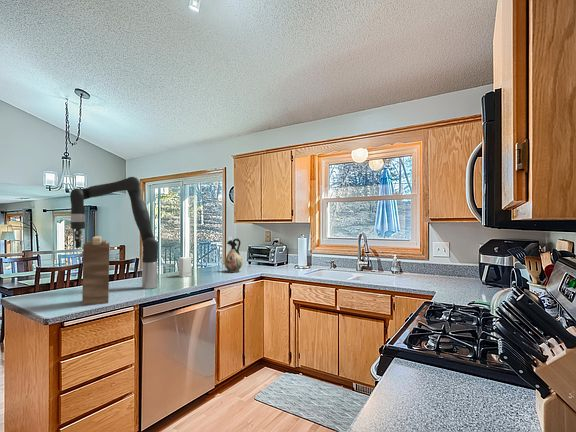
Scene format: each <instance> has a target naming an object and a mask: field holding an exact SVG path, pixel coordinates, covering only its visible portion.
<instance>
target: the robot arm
mask: <svg viewBox="0 0 576 432" xmlns="http://www.w3.org/2000/svg"><path fill="white" fill-rule="evenodd" d="M122 191H127V194H128V196H129V199H130V205H131V210H132V214H133V218H134V221H135V224H136V226H137V228H138V230H139V234H140V237H141V244H142V259H141V260H142V262H141V263H142V264H141V270H142V273H141V274H142V275H141V276H142V277H141V289H146V290H147V289H150V290H151V289H157V288H158V279H159V278H158V255H159V252H158V251H159V244H158V241H157V240H156V239H155V236H154V233H153V230H152V224H151V218H150V213H149V209H148V208H147V205H146V203H145V201H144V199H143V196H142V191H141V181H140V179H139V178H137V177H136V176H129V177H126V178H124V179H121V180H118V181H113V182H109V183H107V182H106V183H102V184H95V185H93V186H92V185H91V186H89V187H84V188H73V189H72V190H71V191H70V195H69V196H70V205H71V206H70V229H71V230H75V231H74V232H73V236H74V237H73V238H74V243H75V244H74V245H75V247H74V248H75V249H80V248H81V247H82V246H81V244H82V238H83V237H82V236H83V231H82V230H85V228H86V216H85V205H84V201H85V200H87V199H92V198H96V197H102V196H106V195H110V194H113V193H116V192H122Z"/></svg>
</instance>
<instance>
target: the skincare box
mask: <svg viewBox="0 0 576 432" xmlns="http://www.w3.org/2000/svg"><path fill="white" fill-rule="evenodd" d="M178 277H180V278H187V277H192V256H191V257H190V256H183V257H178Z"/></svg>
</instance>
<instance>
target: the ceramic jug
mask: <svg viewBox="0 0 576 432" xmlns="http://www.w3.org/2000/svg"><path fill="white" fill-rule="evenodd" d="M236 242H237V243H238V244H237V243H236ZM226 244H227V245H229V246H231V248H230V250H229V252H228V253H227V255H226V256H225V259H224V266H225V268H226V270H227V271H228V273H239V272H240V270H241V268H242V266H243V258H242V257H241V254H240V251H239V250H240V247H241V239H239V238H233V239H230V240H229V241H227V242H226ZM236 247H237V248H236Z"/></svg>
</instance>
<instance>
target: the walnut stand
mask: <svg viewBox="0 0 576 432" xmlns="http://www.w3.org/2000/svg"><path fill="white" fill-rule="evenodd" d="M92 242H93V239H92V240H87V242H85V243H84V244H83V245H82V246H83V248H82V249H83V250H82V251H83V252H82V253H83V256H82V294H81V295H82V297H81V299H82V301H81V302H82V303H81V306H89V305H92V306H93V305H100V304H109V298H110V297H109V288H110V286H109V285H110V281H109V280H110V242H107V239H105V240H104V239H103V240H102V239H101V244H100V245H92Z"/></svg>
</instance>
